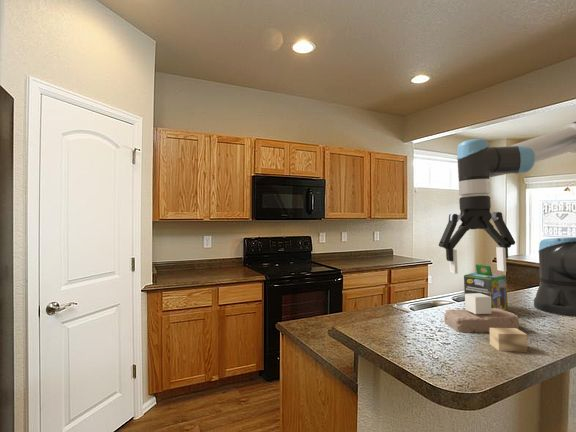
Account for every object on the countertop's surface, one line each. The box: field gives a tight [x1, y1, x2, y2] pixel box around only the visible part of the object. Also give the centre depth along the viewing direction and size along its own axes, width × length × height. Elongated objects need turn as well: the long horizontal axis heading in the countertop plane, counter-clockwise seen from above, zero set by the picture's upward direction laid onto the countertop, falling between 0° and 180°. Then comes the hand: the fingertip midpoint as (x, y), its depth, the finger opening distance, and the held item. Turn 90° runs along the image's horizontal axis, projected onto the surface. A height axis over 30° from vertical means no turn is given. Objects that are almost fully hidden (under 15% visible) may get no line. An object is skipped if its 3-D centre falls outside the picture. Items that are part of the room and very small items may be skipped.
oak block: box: [489, 328, 528, 353], centre depth 75 cm, size 6×4×4 cm, turn 83°
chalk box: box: [463, 263, 509, 311], centre depth 105 cm, size 9×9×15 cm
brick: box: [443, 308, 520, 333], centre depth 89 cm, size 17×8×5 cm, turn 90°
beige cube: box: [464, 293, 491, 314], centre depth 89 cm, size 4×4×4 cm
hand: (477, 271), depth 90 cm, fingers open, 13 cm apart
